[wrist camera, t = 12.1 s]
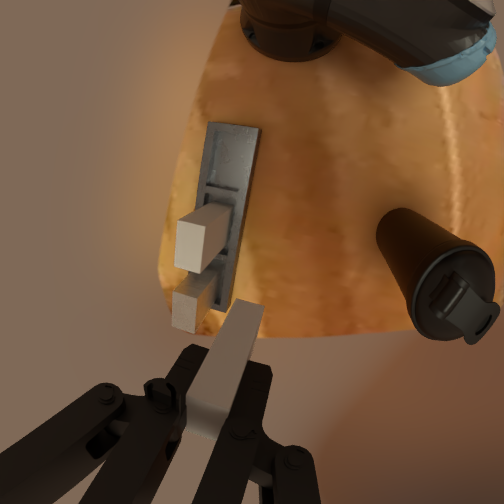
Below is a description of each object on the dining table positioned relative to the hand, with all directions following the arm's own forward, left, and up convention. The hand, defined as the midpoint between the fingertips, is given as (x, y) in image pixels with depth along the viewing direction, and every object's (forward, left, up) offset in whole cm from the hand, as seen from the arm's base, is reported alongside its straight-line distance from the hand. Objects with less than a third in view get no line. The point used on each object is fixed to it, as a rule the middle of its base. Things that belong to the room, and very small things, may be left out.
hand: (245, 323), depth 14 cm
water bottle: (-1, +18, -29) cm, 34 cm away
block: (+4, -10, -28) cm, 30 cm away
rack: (+4, -10, -28) cm, 30 cm away
